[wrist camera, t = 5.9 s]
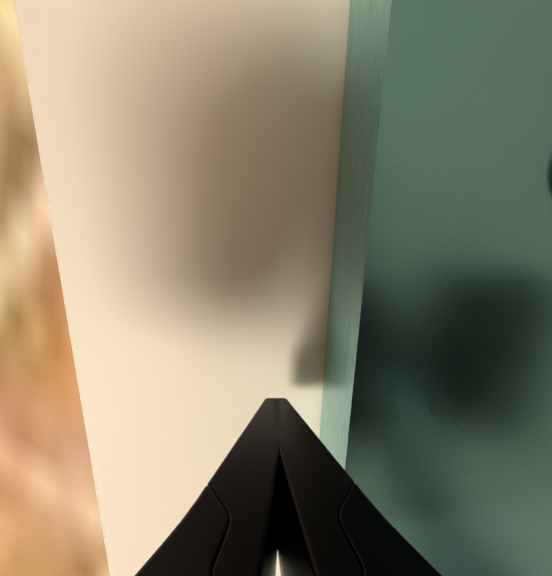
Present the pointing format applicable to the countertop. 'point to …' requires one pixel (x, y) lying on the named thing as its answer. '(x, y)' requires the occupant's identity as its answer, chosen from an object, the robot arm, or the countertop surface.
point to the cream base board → (186, 229)
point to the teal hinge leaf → (446, 279)
